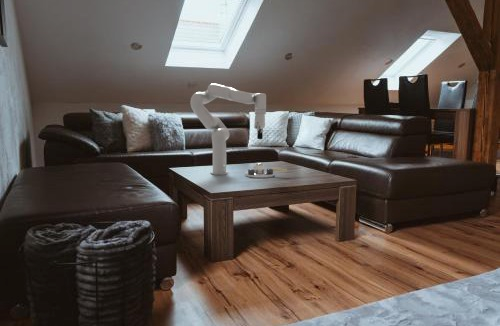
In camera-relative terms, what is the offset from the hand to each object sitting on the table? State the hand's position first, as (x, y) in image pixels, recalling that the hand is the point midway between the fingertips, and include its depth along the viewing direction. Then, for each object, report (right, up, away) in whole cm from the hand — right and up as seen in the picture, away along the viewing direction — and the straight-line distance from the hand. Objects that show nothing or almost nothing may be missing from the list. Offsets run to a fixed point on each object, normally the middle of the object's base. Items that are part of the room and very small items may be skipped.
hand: (259, 139), depth 274 cm
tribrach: (0, -25, +4) cm, 25 cm away
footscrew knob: (+11, -24, 0) cm, 26 cm away
